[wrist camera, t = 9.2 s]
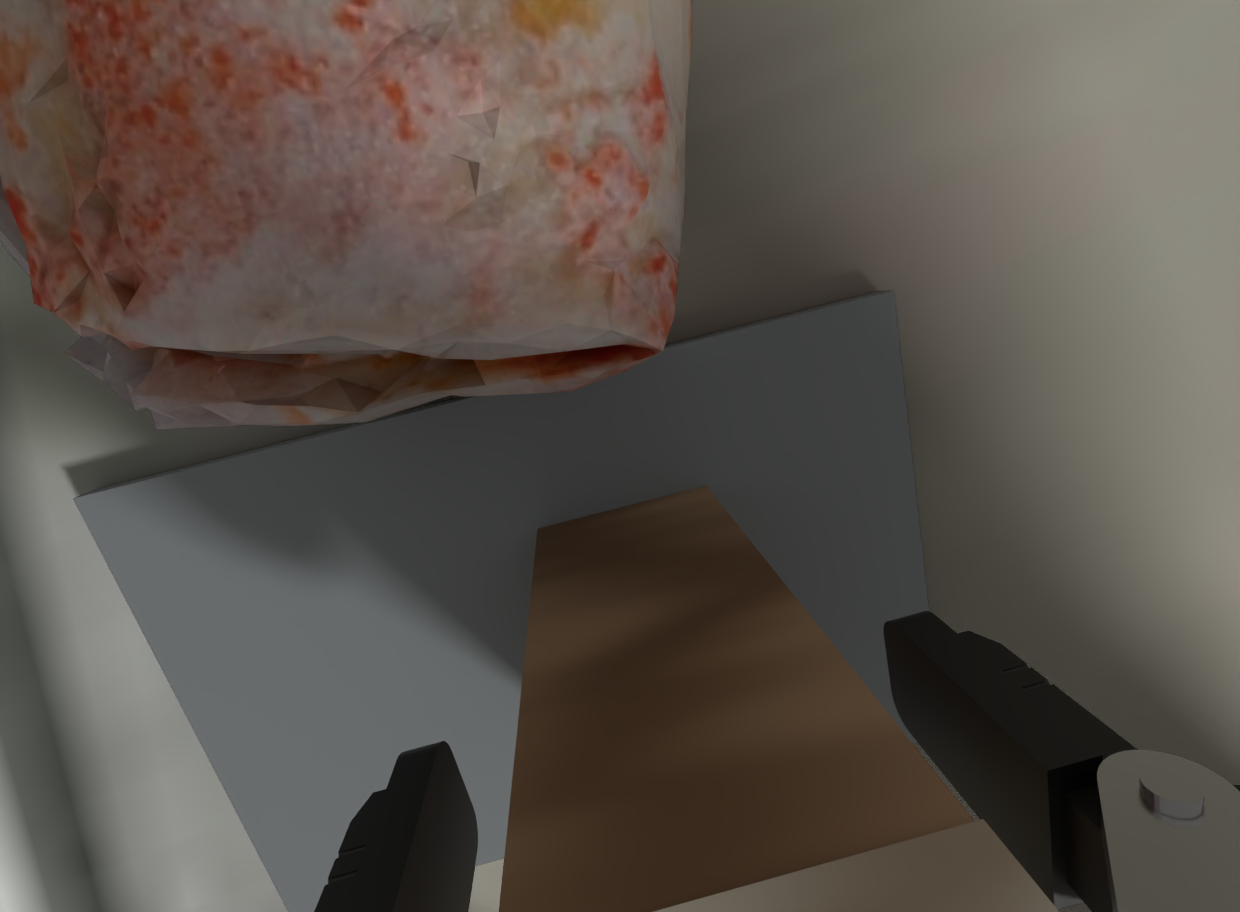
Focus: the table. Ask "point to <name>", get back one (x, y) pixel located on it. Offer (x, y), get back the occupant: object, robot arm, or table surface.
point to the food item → (345, 196)
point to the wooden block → (716, 743)
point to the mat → (495, 558)
